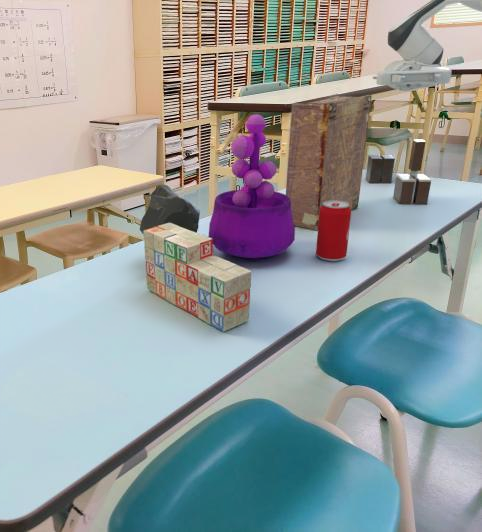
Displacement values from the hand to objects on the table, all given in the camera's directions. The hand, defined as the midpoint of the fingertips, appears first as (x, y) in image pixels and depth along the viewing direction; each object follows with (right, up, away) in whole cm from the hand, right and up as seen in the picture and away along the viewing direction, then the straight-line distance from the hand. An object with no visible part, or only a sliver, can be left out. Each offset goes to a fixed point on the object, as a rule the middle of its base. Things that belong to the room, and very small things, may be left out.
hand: (419, 78), depth 151 cm
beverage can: (-41, -53, -39) cm, 77 cm away
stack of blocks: (-72, -62, -57) cm, 111 cm away
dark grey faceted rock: (-75, -55, -40) cm, 102 cm away
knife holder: (-3, -27, +20) cm, 33 cm away
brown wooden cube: (-4, -36, -2) cm, 36 cm away
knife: (-4, -36, -2) cm, 36 cm away
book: (-33, -41, -12) cm, 54 cm away
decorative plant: (-57, -52, -34) cm, 84 cm away
